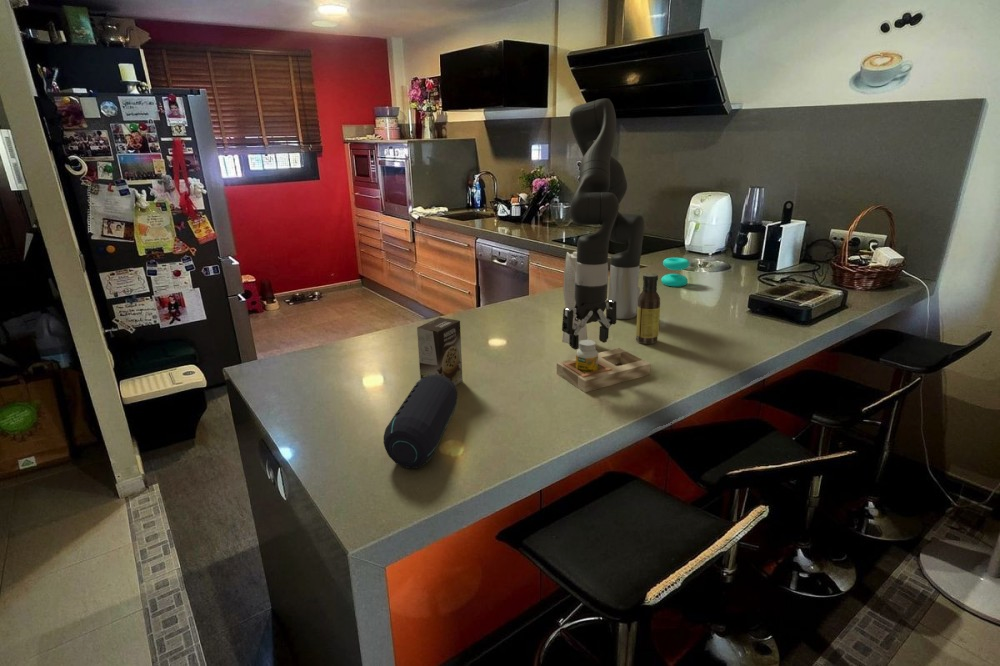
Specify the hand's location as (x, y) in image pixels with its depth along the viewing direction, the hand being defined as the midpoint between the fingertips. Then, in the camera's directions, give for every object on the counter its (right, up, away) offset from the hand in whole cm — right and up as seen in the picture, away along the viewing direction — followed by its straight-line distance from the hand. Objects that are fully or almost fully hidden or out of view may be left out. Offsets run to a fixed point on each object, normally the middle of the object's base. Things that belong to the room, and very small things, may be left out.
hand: (588, 344), depth 129 cm
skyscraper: (+1, 0, +27) cm, 27 cm away
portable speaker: (-37, -19, -22) cm, 47 cm away
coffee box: (-36, -10, +1) cm, 37 cm away
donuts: (+48, +22, +83) cm, 98 cm away
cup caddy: (+4, -8, +5) cm, 10 cm away
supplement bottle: (0, -9, +3) cm, 9 cm away
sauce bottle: (+21, 0, +26) cm, 33 cm away
